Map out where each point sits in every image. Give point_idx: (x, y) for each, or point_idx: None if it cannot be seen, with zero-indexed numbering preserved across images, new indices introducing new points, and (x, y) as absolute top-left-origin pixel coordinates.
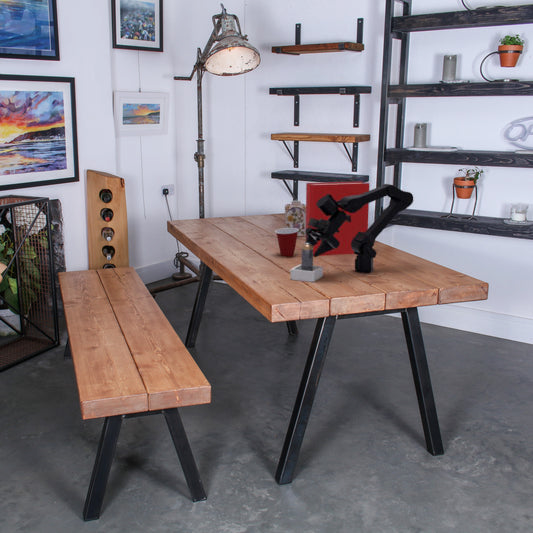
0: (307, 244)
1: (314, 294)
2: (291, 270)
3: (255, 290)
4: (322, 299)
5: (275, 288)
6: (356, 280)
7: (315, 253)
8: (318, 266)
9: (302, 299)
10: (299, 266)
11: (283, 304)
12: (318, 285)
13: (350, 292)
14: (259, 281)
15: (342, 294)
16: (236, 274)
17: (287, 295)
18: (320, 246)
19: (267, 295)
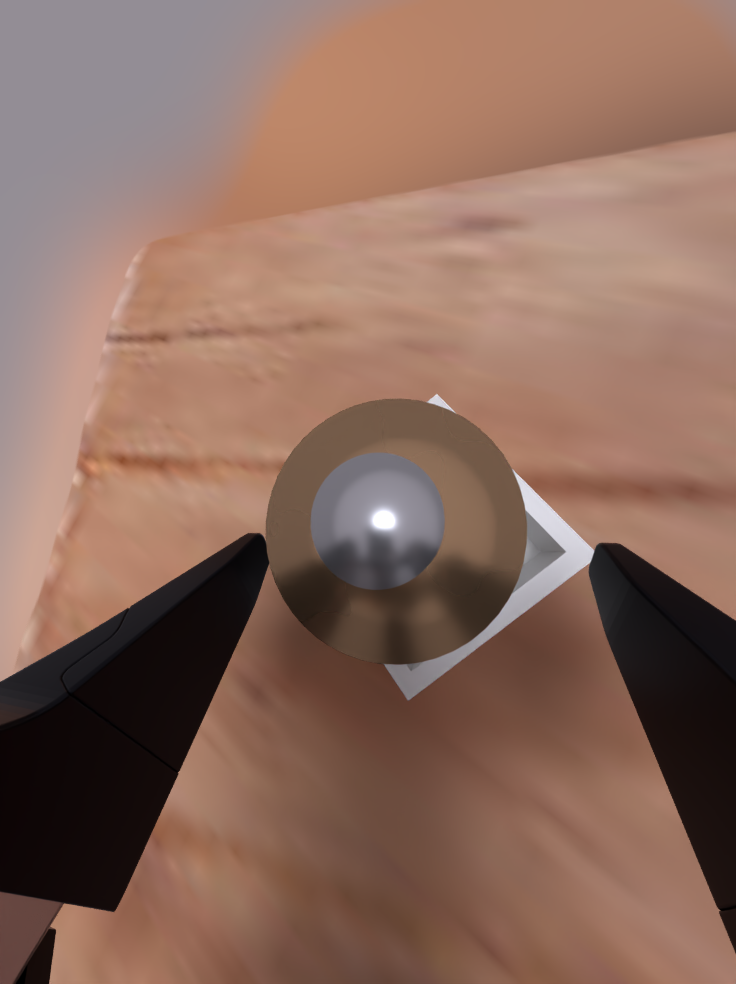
0: (328, 488)
1: (152, 428)
2: (430, 402)
3: (328, 208)
4: (90, 428)
5: (313, 297)
6: (226, 810)
7: (217, 553)
8: (426, 662)
9: (130, 356)
10: (528, 515)
11: (125, 275)
12: (254, 519)
13: (89, 598)
14: (477, 249)
15: (89, 544)
16: (727, 141)
17: (199, 318)
18: (76, 645)
19: (240, 243)
